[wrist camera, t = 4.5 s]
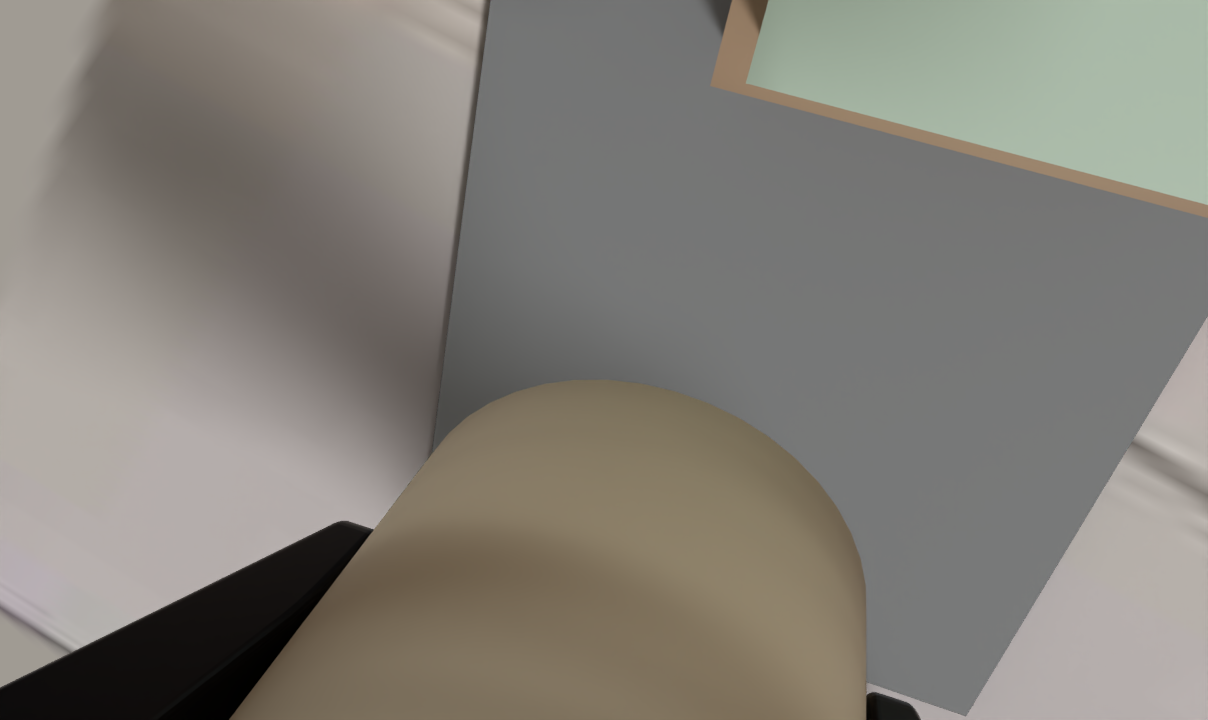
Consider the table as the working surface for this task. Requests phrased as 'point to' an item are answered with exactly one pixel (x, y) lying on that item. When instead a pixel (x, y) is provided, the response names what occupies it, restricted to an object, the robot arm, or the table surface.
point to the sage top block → (1013, 77)
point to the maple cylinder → (590, 577)
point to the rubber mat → (820, 307)
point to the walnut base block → (733, 77)
